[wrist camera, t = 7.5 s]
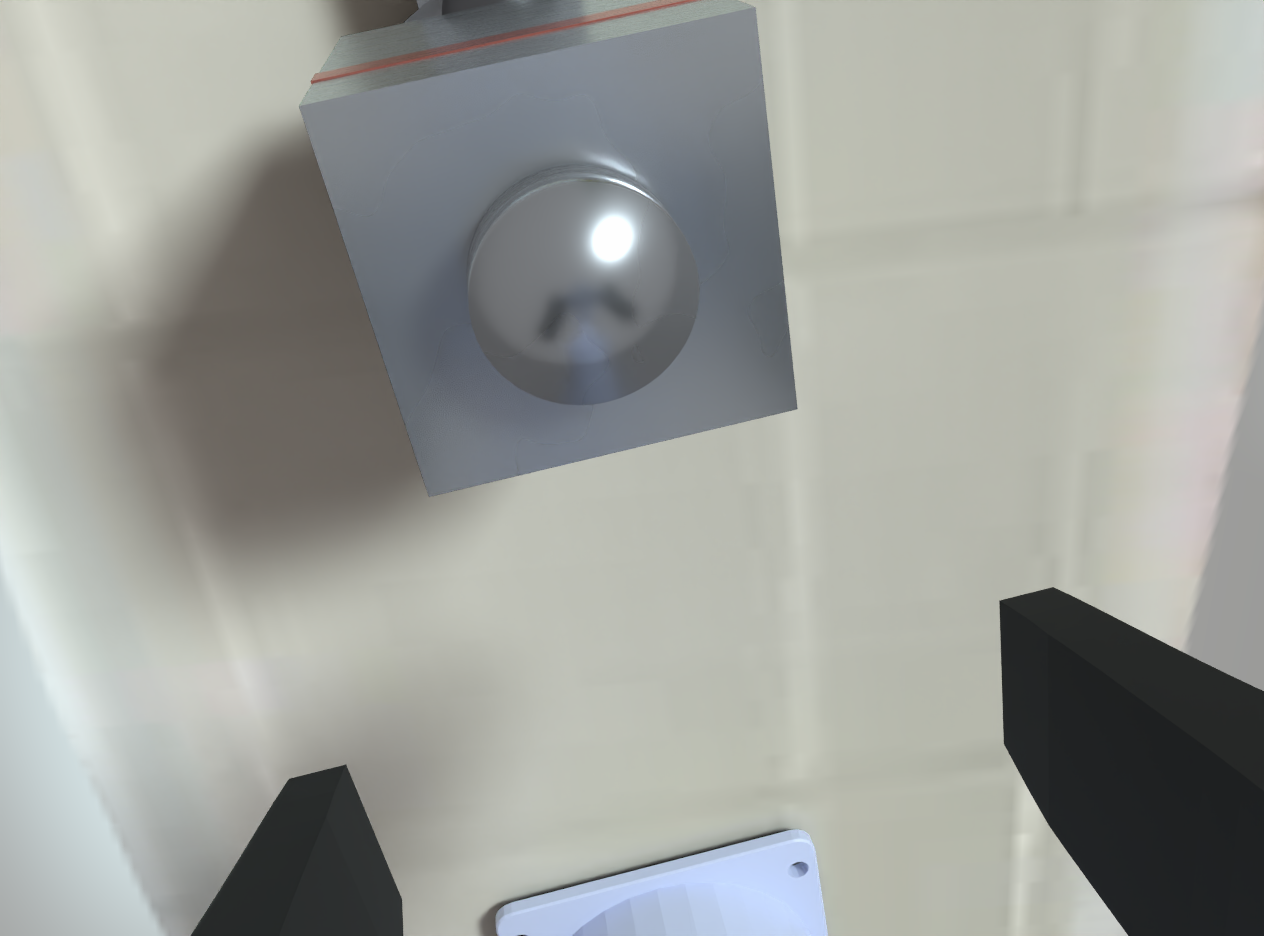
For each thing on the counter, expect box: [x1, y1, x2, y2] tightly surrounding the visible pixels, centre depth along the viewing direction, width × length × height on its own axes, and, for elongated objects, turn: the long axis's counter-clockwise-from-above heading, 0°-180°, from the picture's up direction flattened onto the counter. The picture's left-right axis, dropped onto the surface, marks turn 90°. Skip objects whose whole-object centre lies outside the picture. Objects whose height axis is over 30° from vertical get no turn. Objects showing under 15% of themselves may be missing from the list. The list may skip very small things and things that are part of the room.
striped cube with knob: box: [299, 0, 797, 497], centre depth 13 cm, size 5×5×6 cm
